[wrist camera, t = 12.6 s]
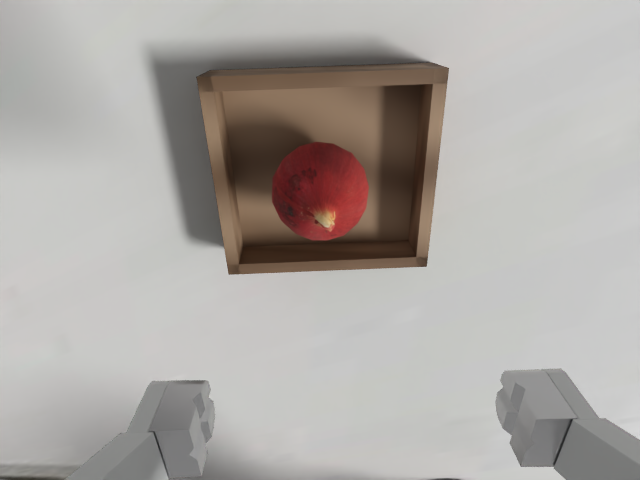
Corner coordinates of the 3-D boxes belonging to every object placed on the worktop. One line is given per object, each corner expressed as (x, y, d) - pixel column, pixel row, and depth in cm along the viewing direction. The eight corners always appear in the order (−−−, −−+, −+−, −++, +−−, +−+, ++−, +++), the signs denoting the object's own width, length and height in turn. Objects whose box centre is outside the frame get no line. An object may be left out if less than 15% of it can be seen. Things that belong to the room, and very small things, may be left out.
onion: (275, 207, 29) (264, 267, 22) (277, 126, 26) (265, 164, 19) (356, 212, 29) (371, 272, 22) (366, 132, 27) (387, 172, 20)
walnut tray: (415, 242, 32) (426, 266, 29) (236, 249, 32) (228, 274, 29) (431, 62, 26) (448, 68, 23) (209, 70, 25) (196, 76, 22)
